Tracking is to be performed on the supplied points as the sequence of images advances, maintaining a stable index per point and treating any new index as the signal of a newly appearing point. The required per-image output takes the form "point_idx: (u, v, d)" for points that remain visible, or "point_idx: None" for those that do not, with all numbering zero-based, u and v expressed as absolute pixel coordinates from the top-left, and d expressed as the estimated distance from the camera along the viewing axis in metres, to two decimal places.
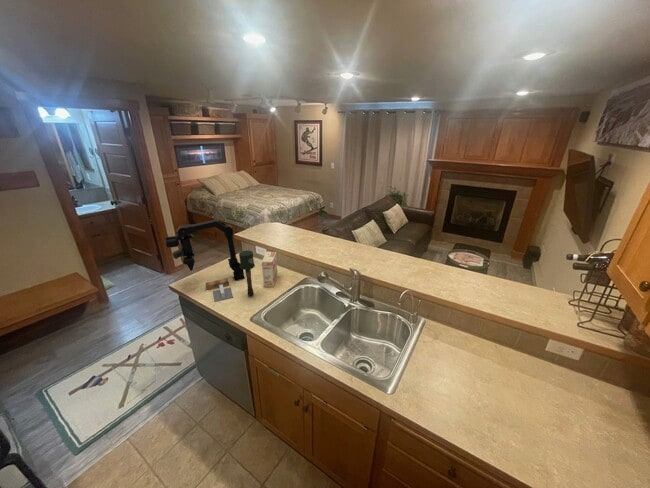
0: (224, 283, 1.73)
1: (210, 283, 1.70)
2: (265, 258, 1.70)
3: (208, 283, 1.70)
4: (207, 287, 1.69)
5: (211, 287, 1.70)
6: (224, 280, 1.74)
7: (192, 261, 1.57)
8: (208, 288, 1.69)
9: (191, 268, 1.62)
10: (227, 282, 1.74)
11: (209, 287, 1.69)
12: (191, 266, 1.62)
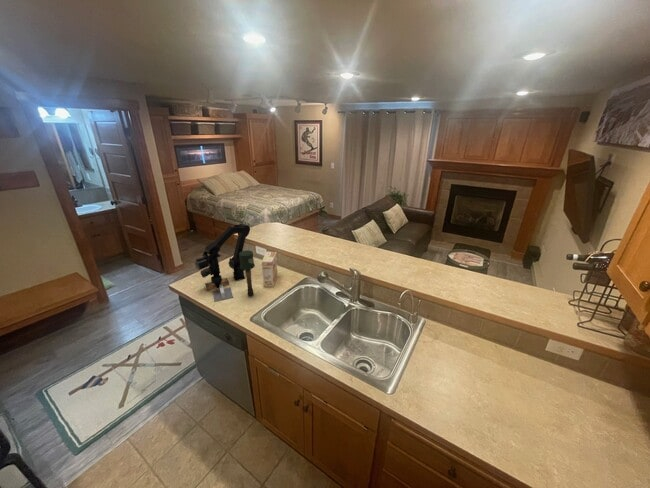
0: (224, 283, 1.73)
1: (210, 283, 1.70)
2: (265, 258, 1.70)
3: (208, 283, 1.70)
4: (207, 288, 1.68)
5: (212, 287, 1.70)
6: (224, 280, 1.75)
7: (220, 280, 1.63)
8: (209, 288, 1.69)
9: (218, 286, 1.69)
10: (227, 281, 1.74)
11: (210, 288, 1.69)
12: (218, 284, 1.68)
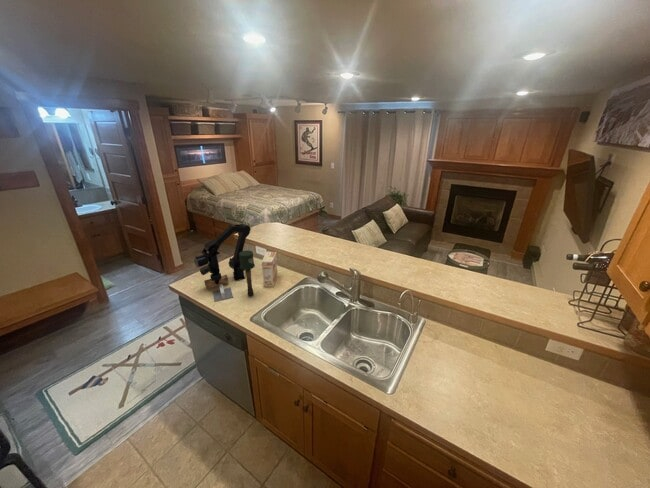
0: (224, 279, 1.72)
1: (210, 280, 1.69)
2: (265, 258, 1.70)
3: (207, 280, 1.69)
4: (207, 285, 1.67)
5: (211, 284, 1.69)
6: (223, 277, 1.74)
7: (219, 277, 1.62)
8: (208, 285, 1.68)
9: (217, 282, 1.69)
10: (227, 278, 1.73)
11: (209, 285, 1.68)
12: (217, 280, 1.68)
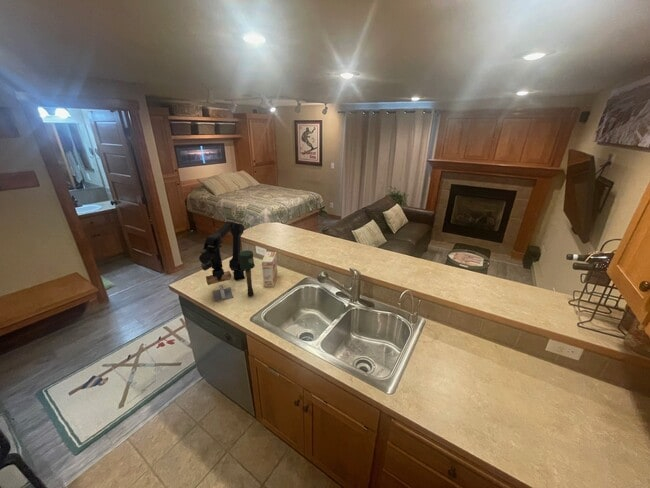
0: (226, 276, 1.62)
1: (211, 276, 1.58)
2: (265, 258, 1.70)
3: (209, 277, 1.58)
4: (208, 281, 1.56)
5: (213, 281, 1.58)
6: (226, 273, 1.63)
7: (222, 273, 1.51)
8: (209, 282, 1.57)
9: (219, 278, 1.59)
10: (229, 275, 1.62)
11: (211, 281, 1.57)
12: (219, 276, 1.58)
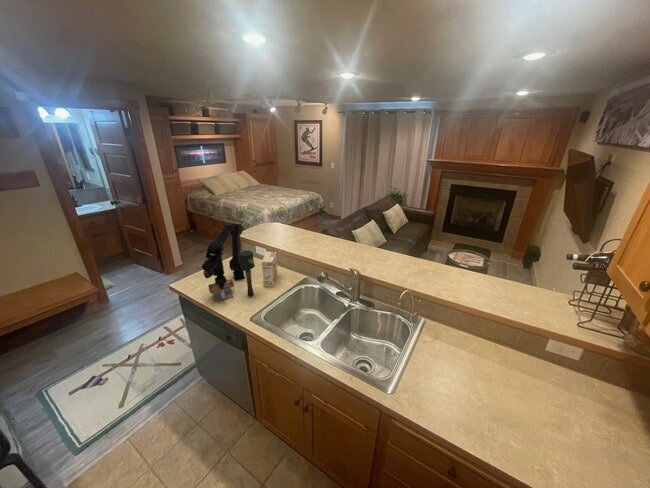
0: (229, 284, 1.63)
1: (214, 285, 1.60)
2: (265, 258, 1.70)
3: (211, 285, 1.60)
4: (211, 289, 1.58)
5: (215, 289, 1.60)
6: (228, 281, 1.64)
7: (224, 281, 1.53)
8: (212, 290, 1.59)
9: (222, 287, 1.59)
10: (232, 283, 1.64)
11: (213, 289, 1.59)
12: (222, 285, 1.58)
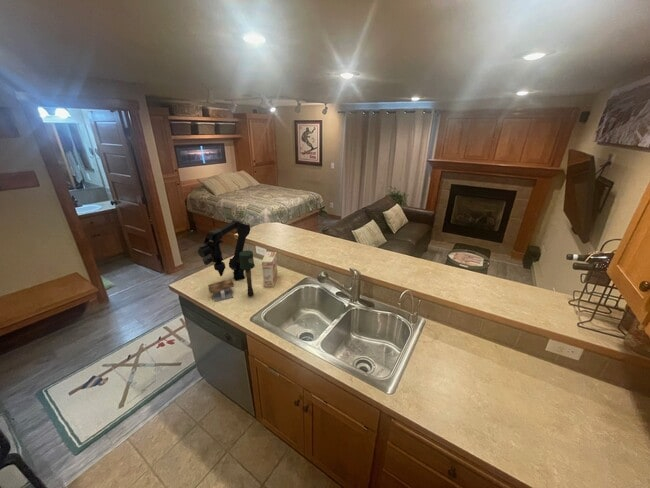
0: (229, 284, 1.63)
1: (214, 285, 1.60)
2: (265, 258, 1.70)
3: (211, 285, 1.60)
4: (211, 289, 1.58)
5: (215, 289, 1.60)
6: (228, 281, 1.64)
7: (223, 267, 1.58)
8: (212, 290, 1.59)
9: (221, 273, 1.63)
10: (232, 283, 1.64)
11: (213, 289, 1.59)
12: (221, 272, 1.62)
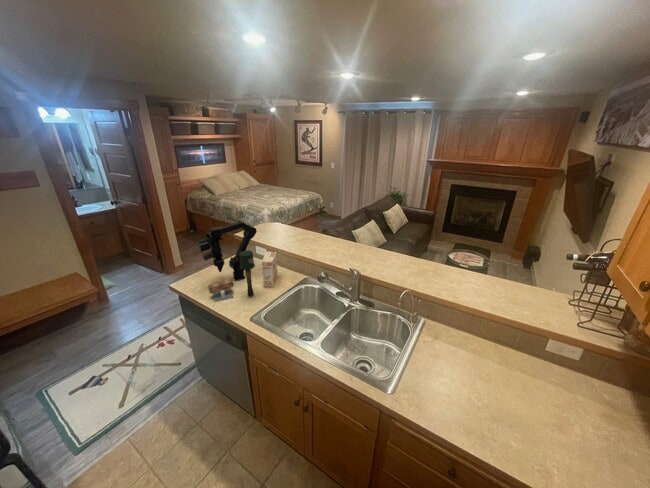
0: (229, 284, 1.63)
1: (214, 285, 1.60)
2: (265, 258, 1.70)
3: (211, 285, 1.60)
4: (211, 289, 1.58)
5: (215, 289, 1.60)
6: (228, 281, 1.64)
7: (222, 263, 1.61)
8: (212, 290, 1.59)
9: (220, 269, 1.67)
10: (232, 283, 1.64)
11: (213, 289, 1.59)
12: (220, 267, 1.66)
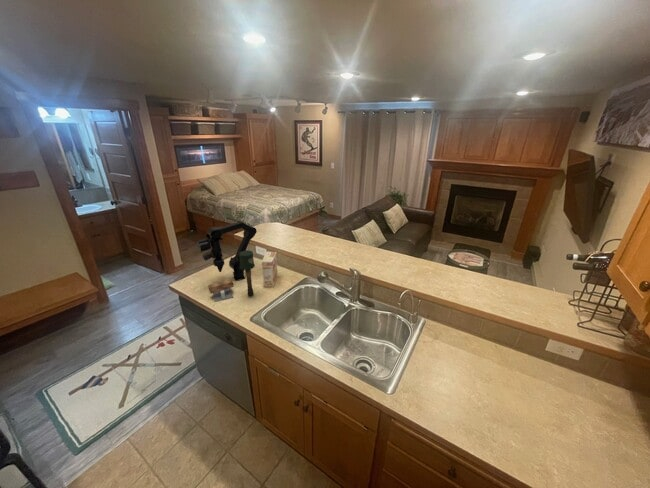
0: (229, 284, 1.63)
1: (214, 285, 1.60)
2: (265, 258, 1.70)
3: (211, 285, 1.60)
4: (211, 289, 1.58)
5: (215, 289, 1.60)
6: (228, 281, 1.64)
7: (222, 263, 1.61)
8: (212, 290, 1.59)
9: (220, 269, 1.67)
10: (232, 283, 1.64)
11: (213, 289, 1.59)
12: (220, 267, 1.66)
